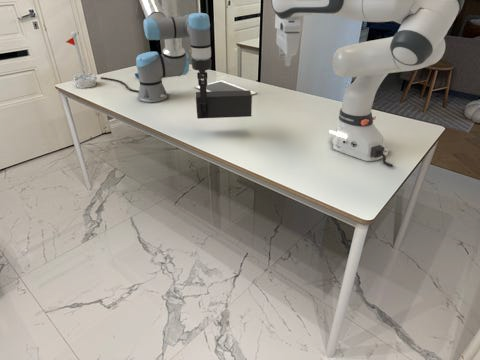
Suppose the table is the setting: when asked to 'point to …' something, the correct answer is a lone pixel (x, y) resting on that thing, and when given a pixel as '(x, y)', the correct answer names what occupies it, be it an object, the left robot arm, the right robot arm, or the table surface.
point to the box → (226, 104)
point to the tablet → (223, 87)
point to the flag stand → (82, 68)
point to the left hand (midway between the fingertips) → (204, 114)
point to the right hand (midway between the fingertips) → (284, 62)
